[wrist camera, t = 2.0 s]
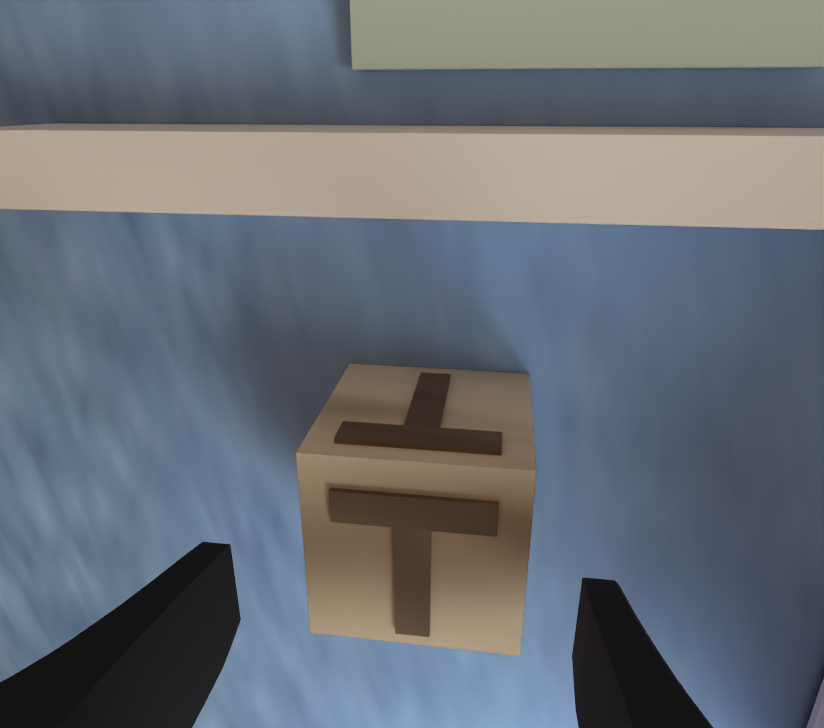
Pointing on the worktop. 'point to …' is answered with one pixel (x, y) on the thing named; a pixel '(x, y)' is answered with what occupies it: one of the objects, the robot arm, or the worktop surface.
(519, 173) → the cream board
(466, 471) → the lettered cube
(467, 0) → the pad
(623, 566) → the worktop surface
